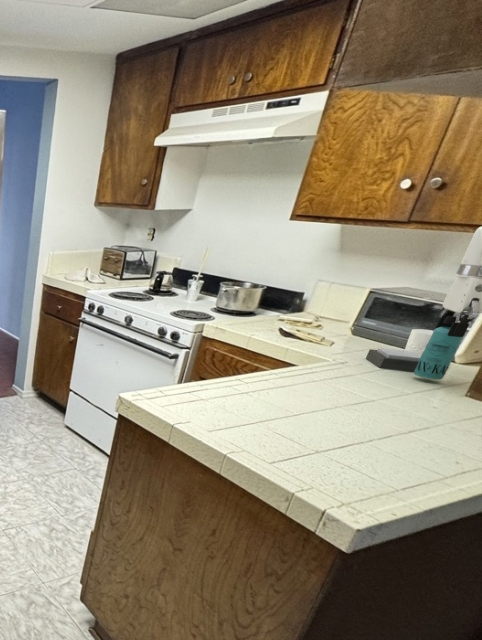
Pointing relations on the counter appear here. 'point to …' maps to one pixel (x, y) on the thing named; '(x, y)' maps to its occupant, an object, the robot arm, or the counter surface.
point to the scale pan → (399, 354)
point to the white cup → (418, 340)
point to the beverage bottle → (438, 352)
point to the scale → (390, 362)
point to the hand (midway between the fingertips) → (448, 333)
